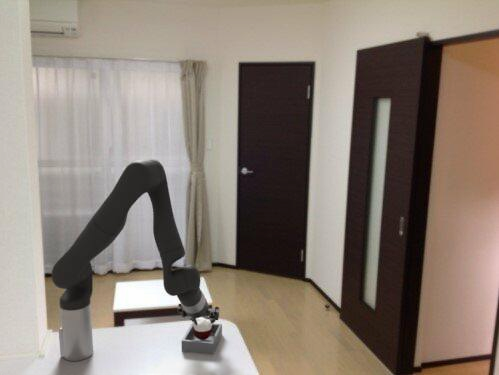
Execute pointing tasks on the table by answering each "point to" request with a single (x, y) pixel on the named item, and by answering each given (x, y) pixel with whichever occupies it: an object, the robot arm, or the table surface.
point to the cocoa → (202, 328)
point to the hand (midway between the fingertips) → (203, 319)
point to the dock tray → (201, 341)
